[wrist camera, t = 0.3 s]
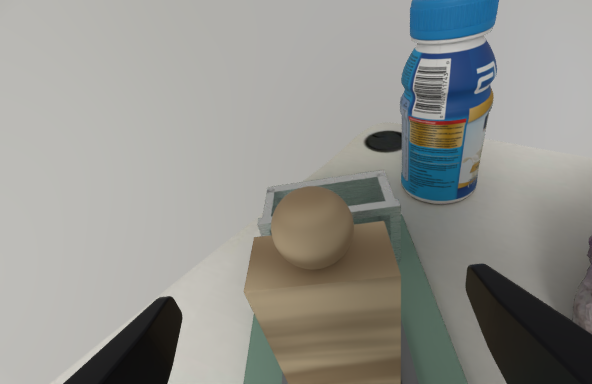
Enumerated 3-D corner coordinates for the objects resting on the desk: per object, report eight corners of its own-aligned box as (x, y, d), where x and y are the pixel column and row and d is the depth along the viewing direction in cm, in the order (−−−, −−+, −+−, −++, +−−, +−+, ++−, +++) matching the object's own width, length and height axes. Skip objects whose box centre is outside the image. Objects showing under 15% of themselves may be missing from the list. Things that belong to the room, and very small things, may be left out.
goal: (400, 263, 28) (400, 205, 24) (276, 276, 29) (257, 224, 25) (385, 216, 33) (383, 162, 29) (280, 229, 35) (265, 180, 31)
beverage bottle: (389, 175, 40) (385, 1, 29) (451, 160, 40) (471, -21, 29) (419, 214, 34) (429, 6, 22) (493, 196, 34) (543, -22, 22)
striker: (400, 413, 19) (401, 212, 9) (303, 417, 19) (215, 236, 10) (389, 358, 21) (381, 158, 12) (304, 364, 22) (233, 181, 13)
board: (534, 571, 14) (546, 567, 13) (223, 563, 16) (209, 560, 15) (401, 220, 33) (401, 206, 32) (268, 237, 35) (264, 225, 34)
